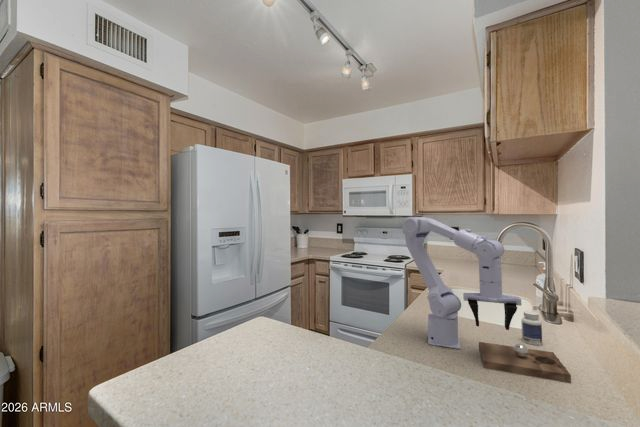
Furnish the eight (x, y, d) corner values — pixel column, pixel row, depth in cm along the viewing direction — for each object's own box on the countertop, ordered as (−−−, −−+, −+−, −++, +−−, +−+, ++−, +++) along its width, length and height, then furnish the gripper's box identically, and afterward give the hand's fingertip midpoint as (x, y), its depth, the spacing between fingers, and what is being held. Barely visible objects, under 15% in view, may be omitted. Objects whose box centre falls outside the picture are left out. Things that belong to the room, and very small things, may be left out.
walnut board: (483, 367, 78) (483, 360, 78) (479, 348, 90) (478, 341, 90) (572, 383, 70) (571, 375, 70) (554, 359, 82) (553, 352, 82)
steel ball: (515, 358, 79) (514, 345, 79) (512, 352, 82) (512, 340, 83) (530, 360, 78) (530, 347, 78) (527, 355, 81) (526, 342, 81)
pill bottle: (546, 346, 91) (544, 315, 91) (527, 345, 92) (526, 314, 92) (536, 339, 96) (535, 310, 96) (519, 338, 97) (518, 309, 97)
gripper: (463, 281, 83) (465, 328, 83) (523, 285, 77) (525, 335, 77) (462, 277, 89) (463, 320, 89) (517, 280, 83) (519, 326, 83)
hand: (491, 327), depth 83 cm, fingers open, 7 cm apart
